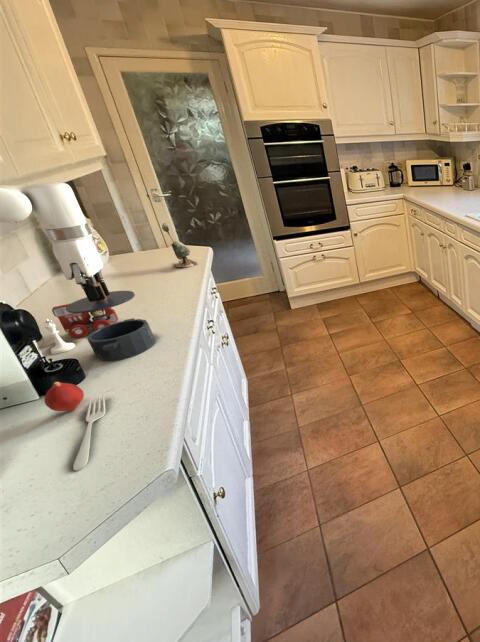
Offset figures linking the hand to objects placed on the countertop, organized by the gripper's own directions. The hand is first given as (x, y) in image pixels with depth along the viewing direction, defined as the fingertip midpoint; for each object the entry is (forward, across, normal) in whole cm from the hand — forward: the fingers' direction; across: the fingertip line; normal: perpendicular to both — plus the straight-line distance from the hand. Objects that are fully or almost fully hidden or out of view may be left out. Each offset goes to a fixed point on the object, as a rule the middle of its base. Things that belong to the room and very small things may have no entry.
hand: (99, 297), depth 107 cm
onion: (+17, +28, -2) cm, 33 cm away
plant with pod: (+16, -80, +2) cm, 82 cm away
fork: (+17, +40, +4) cm, 43 cm away
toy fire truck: (+17, -20, -12) cm, 29 cm away
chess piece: (+17, -10, -16) cm, 26 cm away
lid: (+1, 0, 0) cm, 1 cm away
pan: (+17, 0, +1) cm, 17 cm away
